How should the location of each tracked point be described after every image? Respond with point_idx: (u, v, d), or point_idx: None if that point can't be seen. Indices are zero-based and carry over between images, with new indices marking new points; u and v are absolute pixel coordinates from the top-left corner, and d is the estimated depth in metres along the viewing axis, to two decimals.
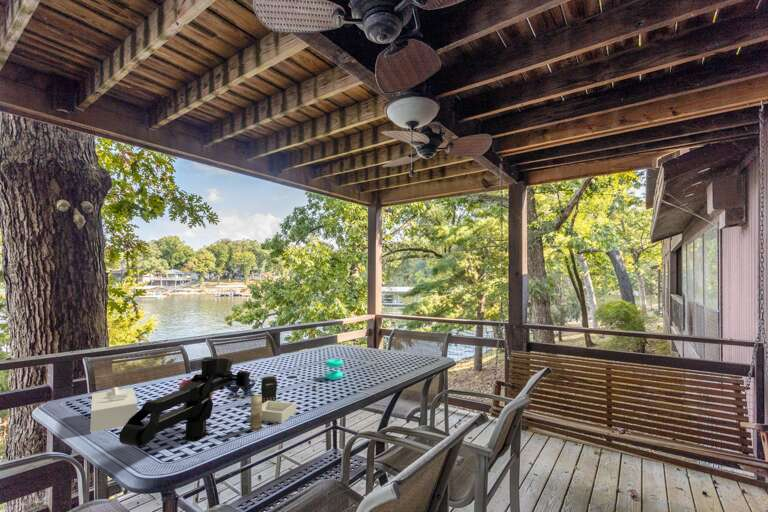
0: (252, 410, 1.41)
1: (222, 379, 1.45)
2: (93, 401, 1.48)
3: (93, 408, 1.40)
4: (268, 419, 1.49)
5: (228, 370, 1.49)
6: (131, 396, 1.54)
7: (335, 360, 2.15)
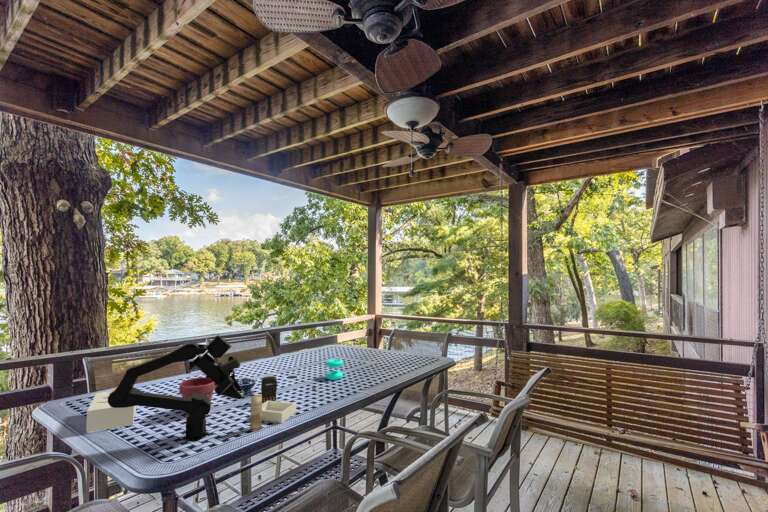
0: (252, 410, 1.41)
1: (214, 367, 1.36)
2: (94, 400, 1.49)
3: (90, 408, 1.40)
4: (268, 419, 1.49)
5: (226, 368, 1.37)
6: None
7: (335, 360, 2.15)
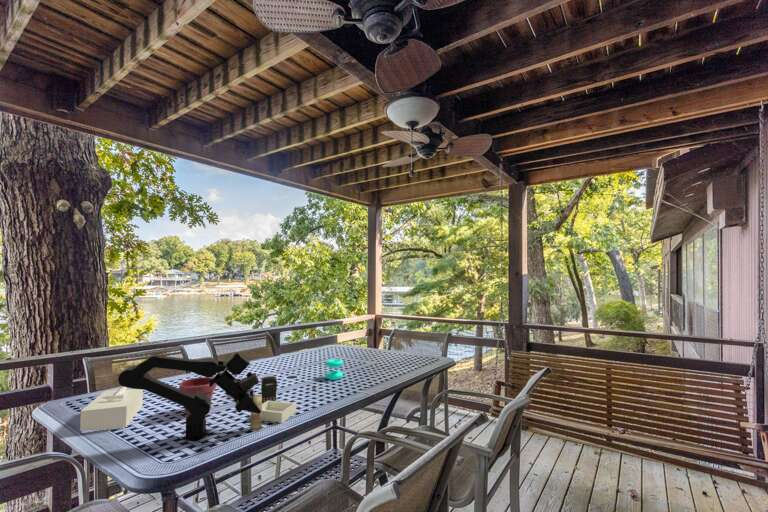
0: None
1: (233, 385, 1.38)
2: (95, 400, 1.50)
3: (86, 408, 1.41)
4: (268, 419, 1.49)
5: (246, 385, 1.39)
6: (130, 397, 1.53)
7: (335, 360, 2.15)
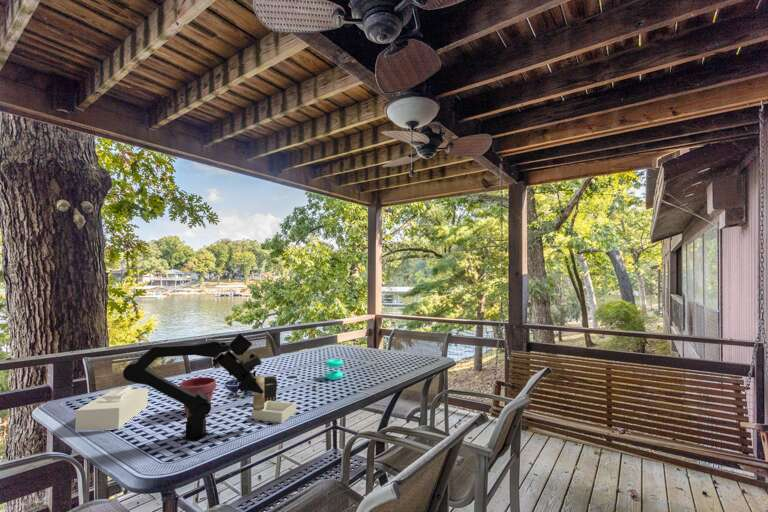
0: None
1: (236, 365, 1.39)
2: (97, 399, 1.51)
3: (83, 407, 1.41)
4: (268, 419, 1.49)
5: (248, 365, 1.41)
6: (129, 398, 1.52)
7: (335, 360, 2.15)
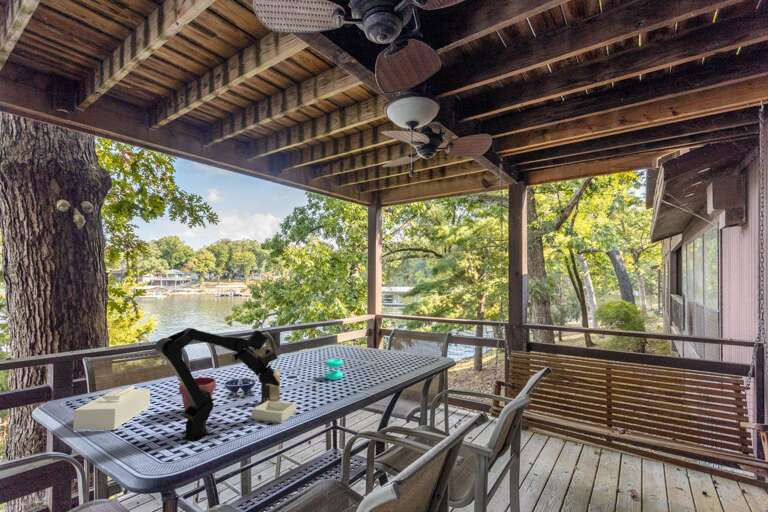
0: None
1: (255, 359, 1.50)
2: (98, 398, 1.51)
3: (81, 407, 1.42)
4: (268, 419, 1.49)
5: (266, 359, 1.52)
6: (128, 399, 1.51)
7: (335, 360, 2.15)
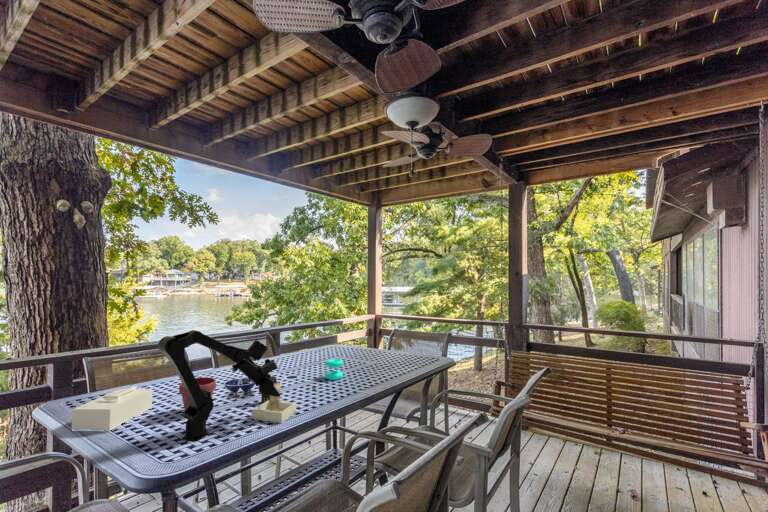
0: (271, 396, 1.53)
1: (255, 370, 1.50)
2: (100, 397, 1.52)
3: (80, 406, 1.42)
4: (268, 419, 1.49)
5: (266, 370, 1.52)
6: (127, 399, 1.50)
7: (335, 360, 2.15)
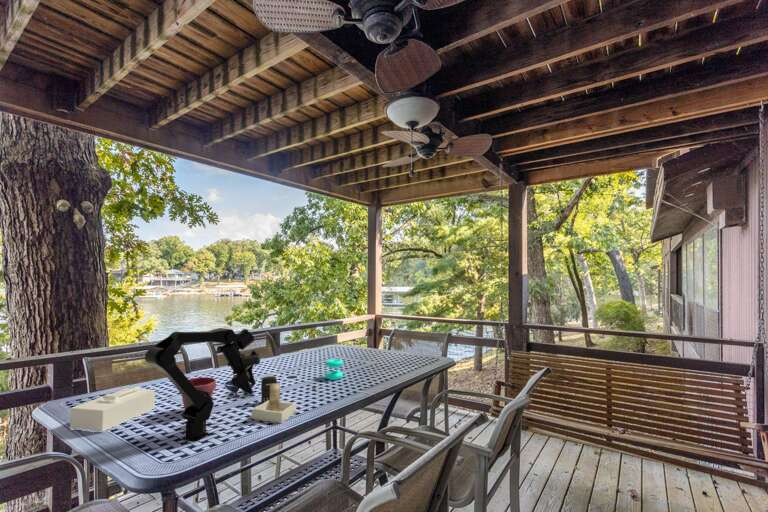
0: (271, 396, 1.53)
1: (236, 358, 1.46)
2: (102, 397, 1.53)
3: (79, 405, 1.43)
4: (268, 419, 1.49)
5: (247, 362, 1.47)
6: (125, 400, 1.49)
7: (335, 360, 2.15)
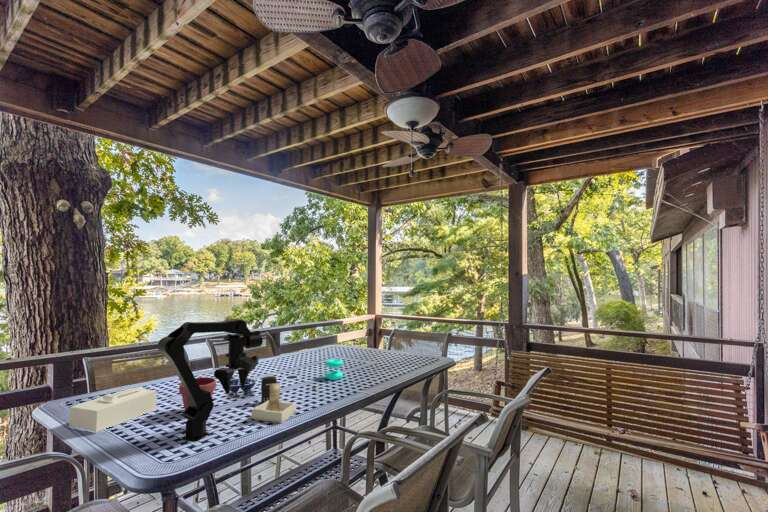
0: (271, 396, 1.53)
1: (234, 354, 1.45)
2: None
3: (79, 404, 1.44)
4: (268, 419, 1.49)
5: (240, 363, 1.44)
6: (123, 401, 1.49)
7: (335, 360, 2.15)
